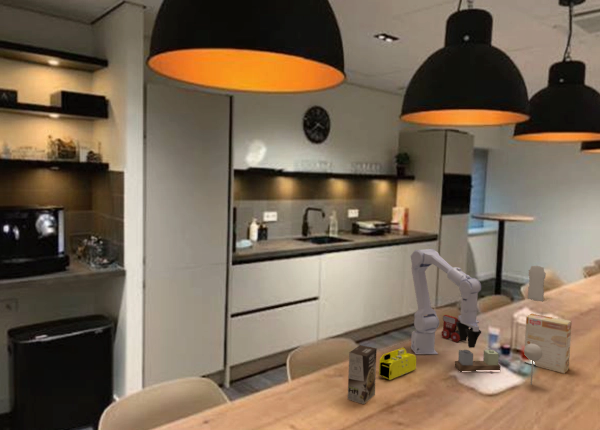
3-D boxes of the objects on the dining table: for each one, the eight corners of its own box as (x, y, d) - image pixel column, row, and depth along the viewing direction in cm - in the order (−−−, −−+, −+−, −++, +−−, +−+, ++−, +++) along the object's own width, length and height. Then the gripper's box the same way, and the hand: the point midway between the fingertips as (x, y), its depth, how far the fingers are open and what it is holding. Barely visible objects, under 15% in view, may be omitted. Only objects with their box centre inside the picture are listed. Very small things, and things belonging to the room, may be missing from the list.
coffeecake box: (569, 368, 181) (572, 320, 180) (564, 374, 176) (567, 324, 175) (528, 358, 192) (531, 312, 190) (523, 363, 186) (526, 316, 185)
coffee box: (364, 405, 148) (366, 356, 147) (346, 399, 151) (348, 352, 150) (375, 394, 155) (377, 347, 154) (358, 389, 159) (360, 344, 158)
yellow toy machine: (404, 366, 180) (405, 346, 180) (416, 371, 176) (417, 350, 175) (377, 377, 170) (378, 355, 169) (390, 382, 166) (390, 359, 165)
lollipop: (533, 389, 162) (535, 348, 161) (518, 382, 167) (520, 342, 166) (544, 386, 165) (546, 345, 164) (529, 379, 170) (531, 340, 169)
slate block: (462, 365, 176) (463, 352, 176) (458, 361, 180) (458, 348, 180) (472, 365, 176) (473, 352, 176) (468, 361, 180) (468, 348, 180)
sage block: (488, 365, 177) (488, 352, 176) (483, 361, 181) (483, 348, 180) (498, 365, 177) (498, 352, 177) (493, 361, 181) (493, 348, 181)
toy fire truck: (461, 344, 207) (462, 321, 207) (438, 336, 217) (439, 315, 216) (470, 341, 212) (471, 319, 211) (447, 334, 221) (447, 312, 221)
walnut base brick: (459, 372, 176) (460, 365, 176) (454, 366, 181) (454, 360, 181) (500, 372, 177) (500, 365, 176) (494, 366, 182) (494, 360, 181)
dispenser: (525, 298, 297) (527, 264, 295) (528, 297, 299) (530, 264, 298) (542, 301, 289) (544, 267, 287) (545, 301, 291) (547, 266, 290)
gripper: (487, 315, 171) (485, 350, 172) (470, 304, 185) (469, 337, 186) (469, 314, 170) (467, 350, 171) (453, 304, 185) (452, 337, 186)
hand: (467, 343), depth 179 cm, fingers open, 7 cm apart
